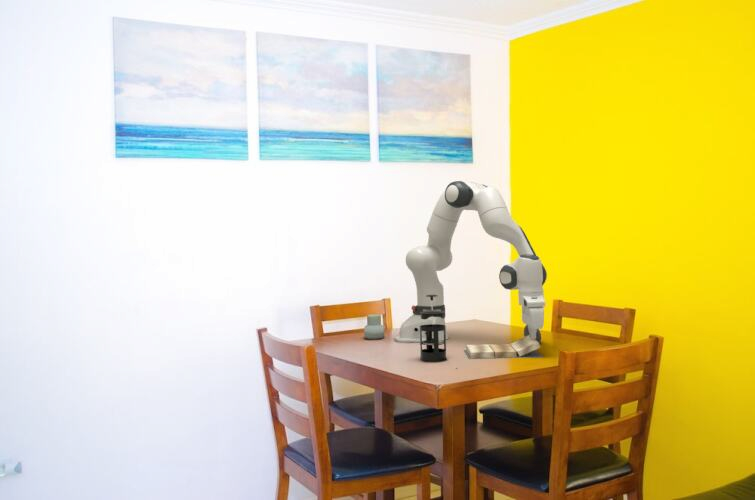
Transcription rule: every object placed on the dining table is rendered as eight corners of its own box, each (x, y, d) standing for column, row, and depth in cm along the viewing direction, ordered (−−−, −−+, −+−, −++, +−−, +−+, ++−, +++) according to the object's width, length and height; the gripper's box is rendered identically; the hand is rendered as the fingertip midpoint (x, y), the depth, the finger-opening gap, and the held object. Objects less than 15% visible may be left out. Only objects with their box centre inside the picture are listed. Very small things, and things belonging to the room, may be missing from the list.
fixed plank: (495, 357, 243) (495, 352, 243) (488, 349, 259) (488, 344, 259) (516, 357, 243) (516, 351, 243) (508, 349, 259) (508, 343, 259)
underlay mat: (468, 361, 243) (468, 359, 243) (463, 352, 261) (463, 349, 261) (544, 359, 242) (544, 357, 242) (533, 350, 260) (533, 348, 260)
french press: (450, 361, 243) (448, 295, 242) (424, 363, 241) (422, 296, 241) (441, 355, 255) (440, 292, 254) (416, 357, 253) (414, 293, 252)
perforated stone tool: (544, 346, 268) (544, 328, 267) (530, 347, 268) (530, 329, 267) (536, 340, 283) (535, 323, 282) (523, 340, 283) (522, 323, 282)
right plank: (531, 339, 259) (529, 334, 259) (540, 347, 243) (538, 341, 243) (511, 348, 259) (509, 343, 259) (519, 356, 243) (517, 351, 243)
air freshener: (383, 340, 294) (383, 316, 294) (364, 340, 294) (363, 317, 294) (384, 336, 305) (383, 313, 304) (365, 336, 305) (364, 313, 305)
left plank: (471, 358, 244) (471, 352, 244) (466, 350, 260) (466, 344, 260) (494, 357, 244) (494, 352, 243) (487, 349, 259) (487, 344, 259)
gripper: (517, 297, 261) (518, 334, 261) (528, 302, 241) (529, 343, 241) (534, 297, 261) (535, 334, 261) (546, 302, 241) (548, 342, 241)
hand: (532, 338), depth 251 cm, fingers closed, pressing on right plank
